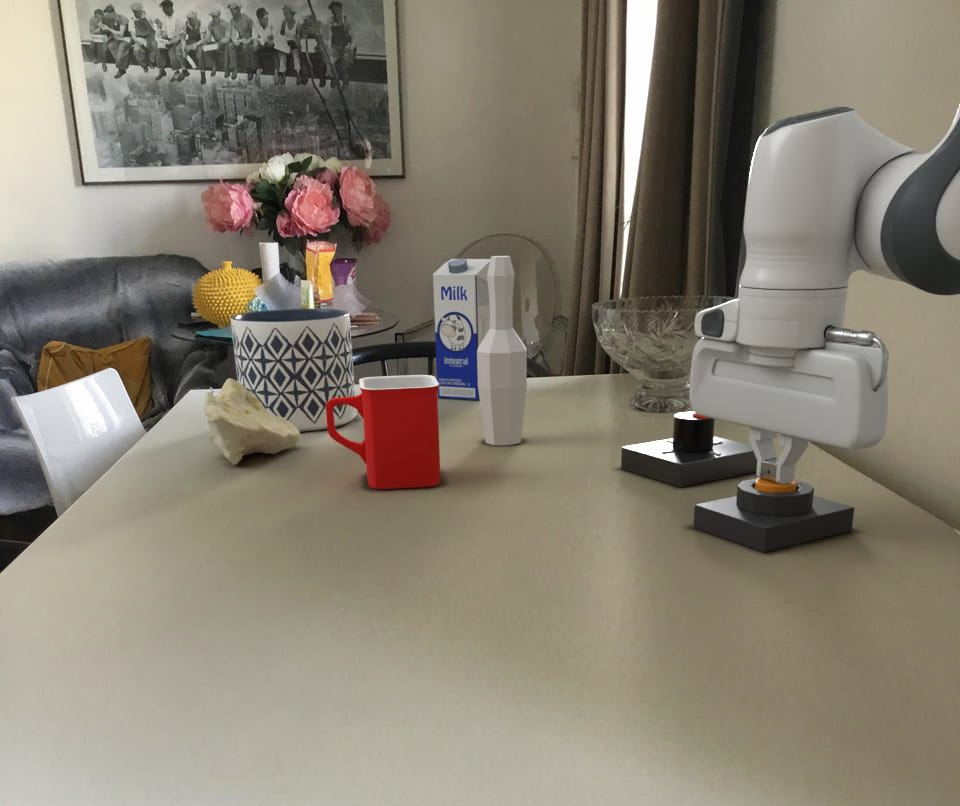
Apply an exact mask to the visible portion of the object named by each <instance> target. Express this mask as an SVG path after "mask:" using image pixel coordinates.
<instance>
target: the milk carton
mask: <svg viewBox="0 0 960 806" xmlns="http://www.w3.org/2000/svg"><path fill="white" fill-rule="evenodd" d="M490 260H491V258H450V259H449V260H448V261H446V262H444V263H443V264H442V265H441V266H440V267H439V268H438V269H437V270H436V271H434V272H433V273H432V274H431V275H432V283H433V311H434V335H435V336H434V337H435V358H436V359H435V363H436V365H435V366H436V380H437V381H438V383H439V388H438V393H437V395H438V399H452V400H467V401H469V400H470V401H480V398H479V391H478V370H477V349H478V347H479V345H480V344H481V342H482V341H483V339H484V337H485V336H486V334H487V332H488V331H489V329H490V300H489V290H488V281H487V273H488V268H489V264H490Z"/></svg>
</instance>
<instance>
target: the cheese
mask: <svg viewBox="0 0 960 806" xmlns="http://www.w3.org/2000/svg"><path fill="white" fill-rule="evenodd" d="M209 390H210V391H207V392H206V393H205V400H204V407H203V409H204V414H205V416H207V423H208V425H209V434H208V441H209V442H210V444H212V445H213V447H214V448H216V449H218V450H219V452H221V453H222V454H223V455H224V458H226V459H227V460H228V462H230V463H232V465H233V466H236V465H238V464H239V462H240V461H241V460H242V458H243V456H245V455H247V456H248V455H251V454H258V453H263V454H272V455H276V454H278V453H279V452H281V451H283V450H287V449H291V448H293V447H294V446H296V445H297V443H298V442H299V440H300V436H301V435H300V434H301V433H300V431H298V429H297V428H296V427H295V426H294V425H293V424H292V423H290V422H288V421H287V420H286V419H285V418H283V417H280V418H279V417H278V416H275V417H271V416H270V415H269V414H268V412H267V410H266V409H265V408H264V406H263V405H262V403H261V402H260V401H259V399H258V398H257V397H256V396H255V395H254V394H253V393H252V392H251V391H248V390H247V389H246V388H245V387H244V385H243V384H241V383H239V382H237V379H236V380H235V379H233V378H232V377H229V378H227V379H226V380H225V382H224V383H223V384H222V387H221V389H219V390H220V391H219V392H218V393H217V394H216V395H214V393H215V389H213V387H212V386H210V387H209Z"/></svg>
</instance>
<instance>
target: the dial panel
mask: <svg viewBox="0 0 960 806" xmlns="http://www.w3.org/2000/svg"><path fill="white" fill-rule="evenodd" d="M672 445H673V437H672V438H668V439H661V440H655V441H649V442H643V443H637V444H631V445H625V446H622V447H621V458H620V459H621V460H620V461H621V462H620V470H624V471H627V472H631V473H634V474H637V475H640V476H643V477H647V478H649V479H653V480H656V481H659V482H663V483H665V484H668V485H672V486H675V487H678V488H684V487H688V486H689V487H690V486H693V485H699V484H703V483H708V482H714V481H718V480H724V479H728V478H734V477H738V476H739V477H740V476H744V475H750V474H753V473H756V472H757V460H758V459H756V456H755V453H754V451H753V448H752V445H751V444H747V443H744V442H743V443H742V442H738V441H735V440H731V439H727V438H724V437H723V438H722V437H719V436H715V435H714V437H713V448H712V449H710V450H707V451H700V452H689V451H681V450H677V449H674V448H673V447H672Z"/></svg>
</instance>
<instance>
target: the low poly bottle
mask: <svg viewBox="0 0 960 806" xmlns="http://www.w3.org/2000/svg"><path fill="white" fill-rule="evenodd" d="M490 259H491V260H490V264H489V268H488V273H487V281H488V290H489V300H490V329H489V331H488V332H487V334H486V336H485V337H484V339H483V341H482V342H481V344H480V345H479V347H478V349H477V370H478V391H479V398H480V399H479V405H480V411H481V421H482V426H483V433H484V442H485V444H488V445H492V446H511V445H517V444H521V442H522V435H523V425H524V417H525V414H524V413H525V407H526V405H525V404H526V398H527V397H526V396H527V386H528V375H527V374H528V369H527V368H528V366H527V365H528V363H527V362H528V361H527V358H528V357H527V356H528V354H527V347H526V345H525V344H524V342H523V341H522V340H521V338H520V336H519V335H518V333H517V332H516V331H515V329H514V317H513V316H514V314H513V313H514V311H513V310H514V309H513V306H514V305H513V304H514V303H513V302H514V301H513V299H514V287H515V286H514V285H515V271H514V268H513V263H512V260H511V256H510V255H493V256H490Z"/></svg>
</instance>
